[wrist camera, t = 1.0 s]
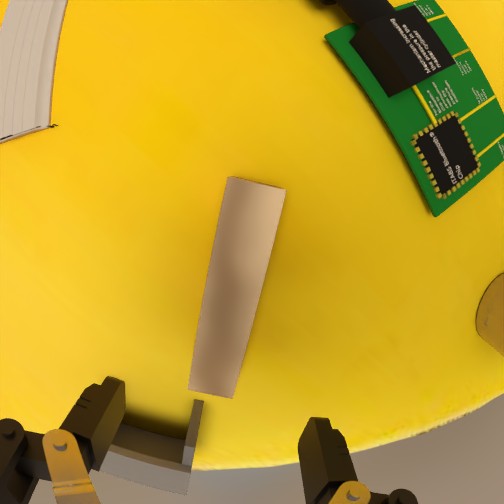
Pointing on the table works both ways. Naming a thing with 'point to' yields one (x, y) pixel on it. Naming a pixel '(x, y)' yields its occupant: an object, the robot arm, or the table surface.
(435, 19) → the electronic board model
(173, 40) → the table surface
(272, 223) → the slat
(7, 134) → the baseboard molding
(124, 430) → the end cap
